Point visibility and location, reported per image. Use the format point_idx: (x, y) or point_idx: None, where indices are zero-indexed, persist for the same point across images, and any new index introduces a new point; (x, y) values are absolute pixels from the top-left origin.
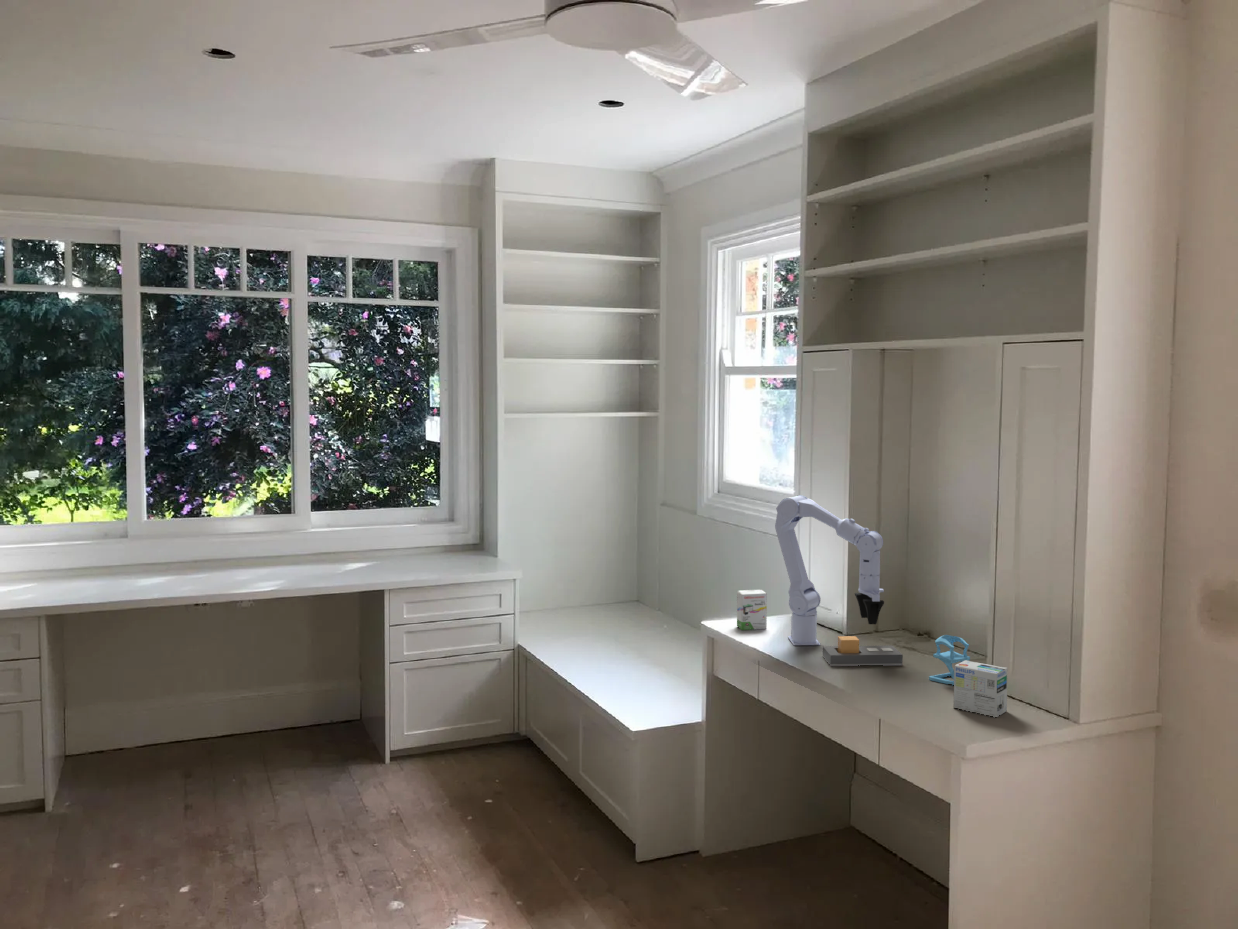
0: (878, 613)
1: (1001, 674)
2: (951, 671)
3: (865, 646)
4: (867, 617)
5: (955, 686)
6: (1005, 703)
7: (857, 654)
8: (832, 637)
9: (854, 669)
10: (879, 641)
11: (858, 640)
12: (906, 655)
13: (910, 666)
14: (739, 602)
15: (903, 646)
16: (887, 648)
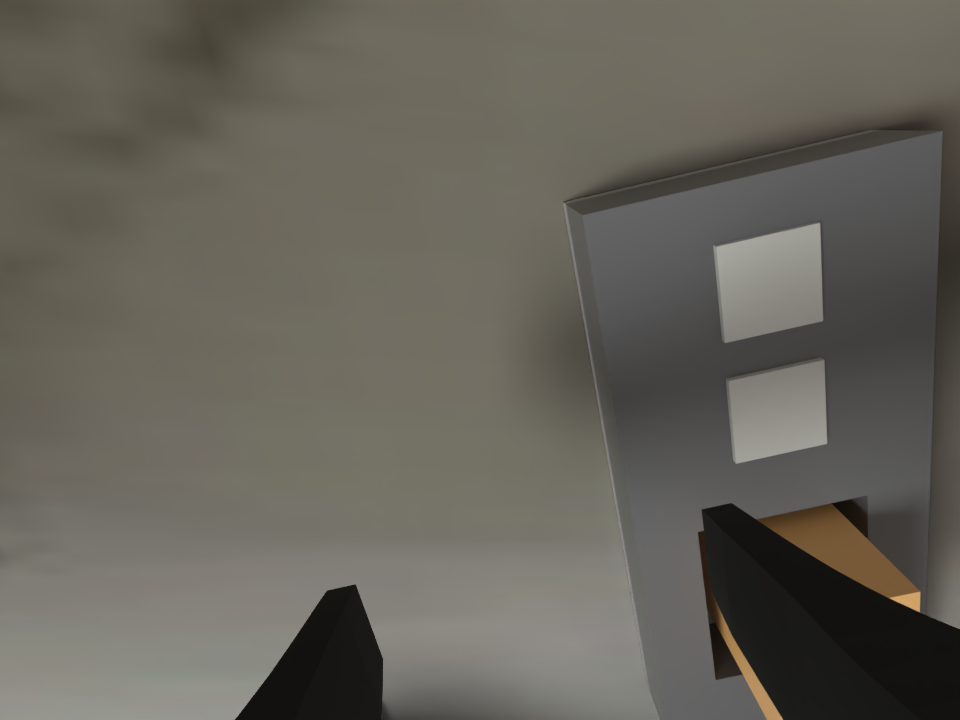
0: (873, 597)
1: None
2: None
3: (650, 465)
4: (767, 677)
5: None
6: None
7: (909, 527)
8: (92, 639)
9: (953, 496)
10: (68, 289)
11: (917, 594)
12: (526, 56)
13: (902, 53)
14: None
15: (179, 56)
16: (737, 276)
